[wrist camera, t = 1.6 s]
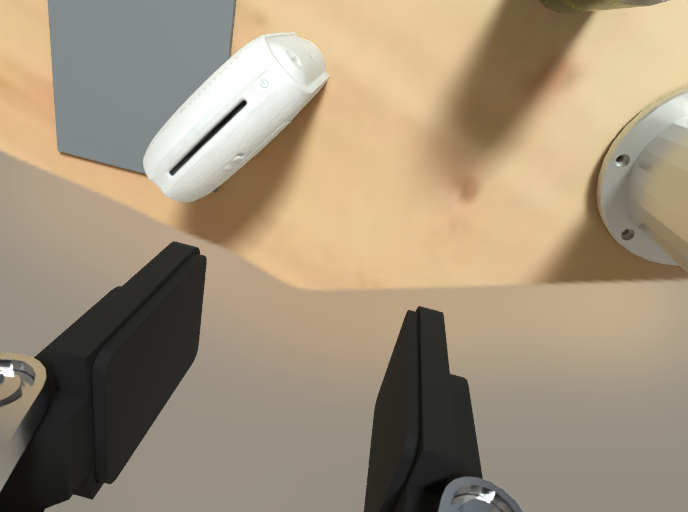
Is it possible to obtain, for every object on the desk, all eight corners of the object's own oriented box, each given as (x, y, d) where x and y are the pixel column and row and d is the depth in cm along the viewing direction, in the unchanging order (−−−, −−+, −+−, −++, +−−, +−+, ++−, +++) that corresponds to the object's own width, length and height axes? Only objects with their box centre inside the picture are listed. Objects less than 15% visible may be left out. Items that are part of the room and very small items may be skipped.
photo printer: (298, 19, 31) (250, 19, 20) (340, 73, 32) (317, 101, 21) (197, 120, 34) (108, 168, 23) (238, 165, 36) (173, 230, 25)
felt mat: (240, -42, 30) (238, -43, 29) (217, 190, 37) (215, 192, 37) (46, -91, 30) (41, -92, 30) (61, 149, 37) (57, 150, 37)
